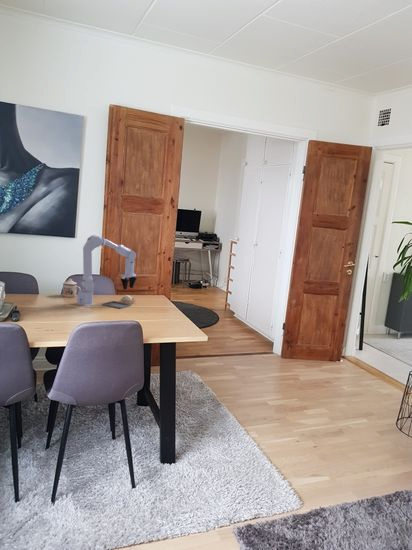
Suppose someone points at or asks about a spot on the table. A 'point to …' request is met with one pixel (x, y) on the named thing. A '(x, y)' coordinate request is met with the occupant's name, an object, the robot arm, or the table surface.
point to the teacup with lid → (70, 288)
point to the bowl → (128, 300)
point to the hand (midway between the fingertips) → (128, 288)
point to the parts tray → (116, 304)
